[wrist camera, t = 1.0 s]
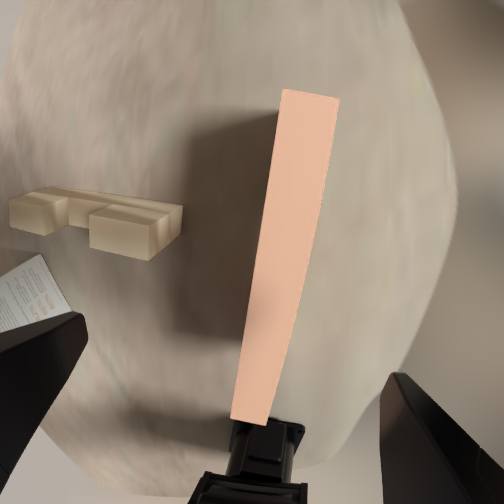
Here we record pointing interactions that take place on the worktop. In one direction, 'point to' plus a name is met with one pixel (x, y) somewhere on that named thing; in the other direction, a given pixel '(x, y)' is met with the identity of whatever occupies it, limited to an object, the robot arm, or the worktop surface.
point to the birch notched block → (100, 219)
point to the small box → (29, 295)
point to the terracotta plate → (283, 246)
